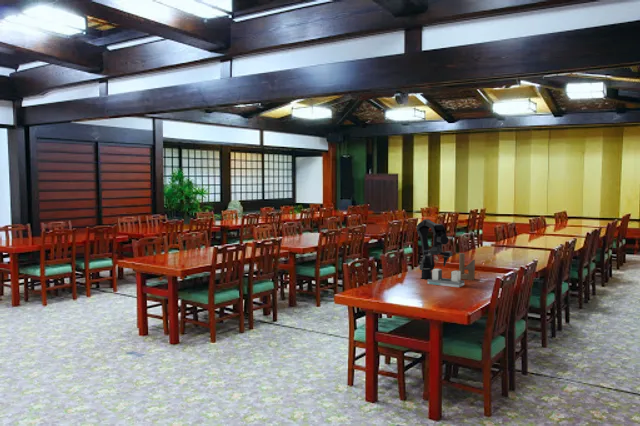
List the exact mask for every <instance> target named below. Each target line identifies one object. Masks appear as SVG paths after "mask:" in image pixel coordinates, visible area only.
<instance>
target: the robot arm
mask: <svg viewBox="0 0 640 426" xmlns="http://www.w3.org/2000/svg"><path fill="white" fill-rule="evenodd" d="M415 229H416V233H417V235H418V236H419V237H420V245H421V251H422V257H421V263H420V265H419V270H420V271H421V277H420V279H422V280H427V279H432V270H433V269H435V262H434V257H433V255H434V256H437V255H439V256H443V257H442V258H443V266H442V267H445V266H446V264H447V261H448V259H450V257H452V256H453V251H450V250H449V251H443V245H447V244H448V243H449V237H448V236H447V231H446V228H445V226H444V225H443V223H435V222H434V221H432V220H431V219H429V218H426V219H422V220H421V221H420V222H419V223H418V224H417V225H416V227H415ZM430 229H431V232H432V236H433V239H432V240H433V244H432V247H431V248H430V247H429V239H428V235H429V232H430Z"/></svg>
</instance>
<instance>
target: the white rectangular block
mask: <svg viewBox="0 0 640 426" xmlns="http://www.w3.org/2000/svg"><path fill="white" fill-rule="evenodd" d="M442 278H443V269H441V268H434V269H433V270H432V280H441V279H442Z"/></svg>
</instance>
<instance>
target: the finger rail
mask: <svg viewBox="0 0 640 426" xmlns="http://www.w3.org/2000/svg"><path fill="white" fill-rule="evenodd" d="M460 276H461V271H459V270H452V271H451V272H450V278H447V277H442V279H441V280H432V279H426V281H427V283H426V284H427V285H435V286H436V285H437V286H445V287H452V288H461V287H463V286H465V279H460Z"/></svg>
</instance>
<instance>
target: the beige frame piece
mask: <svg viewBox="0 0 640 426" xmlns="http://www.w3.org/2000/svg"><path fill="white" fill-rule="evenodd" d="M465 256H466V253H464V252H459V259H458V260H459V267H458V271H461V276H460V280H469V281H474V280H475V277H476V276H475V273H476V272H475V270H476V260H475V259H472V260H471V261H470V262H469V263H468V264H467V265H466V266H465V263H466V262H465V261H466V259H465V258H466V257H465ZM465 270H467V273H465Z"/></svg>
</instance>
